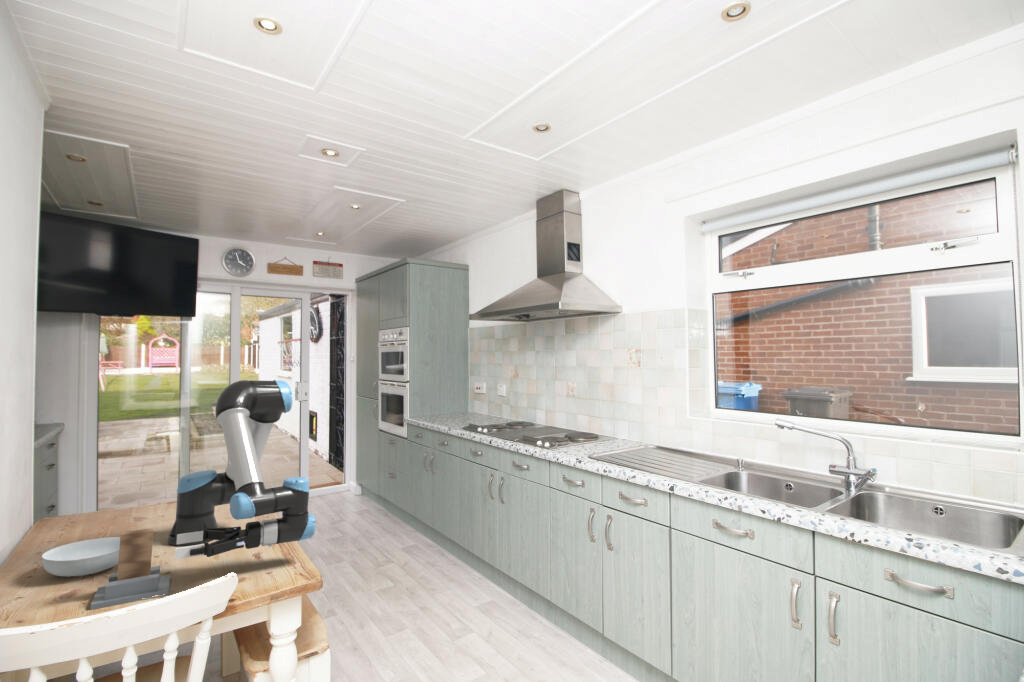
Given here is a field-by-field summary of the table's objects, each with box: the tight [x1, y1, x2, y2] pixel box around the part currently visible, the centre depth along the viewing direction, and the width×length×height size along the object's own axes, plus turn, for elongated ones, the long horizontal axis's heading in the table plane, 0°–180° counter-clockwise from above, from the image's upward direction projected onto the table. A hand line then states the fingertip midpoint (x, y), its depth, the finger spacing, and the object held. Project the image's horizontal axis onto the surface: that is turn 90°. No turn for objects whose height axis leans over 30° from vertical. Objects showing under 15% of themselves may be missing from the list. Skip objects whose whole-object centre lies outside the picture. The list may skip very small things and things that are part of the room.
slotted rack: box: [89, 565, 171, 610], centre depth 131 cm, size 16×12×5 cm
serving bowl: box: [41, 536, 120, 577], centre depth 145 cm, size 21×21×7 cm
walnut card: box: [117, 527, 154, 581], centre depth 131 cm, size 7×2×15 cm, turn 124°
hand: (175, 546), depth 136 cm, fingers open, 13 cm apart
